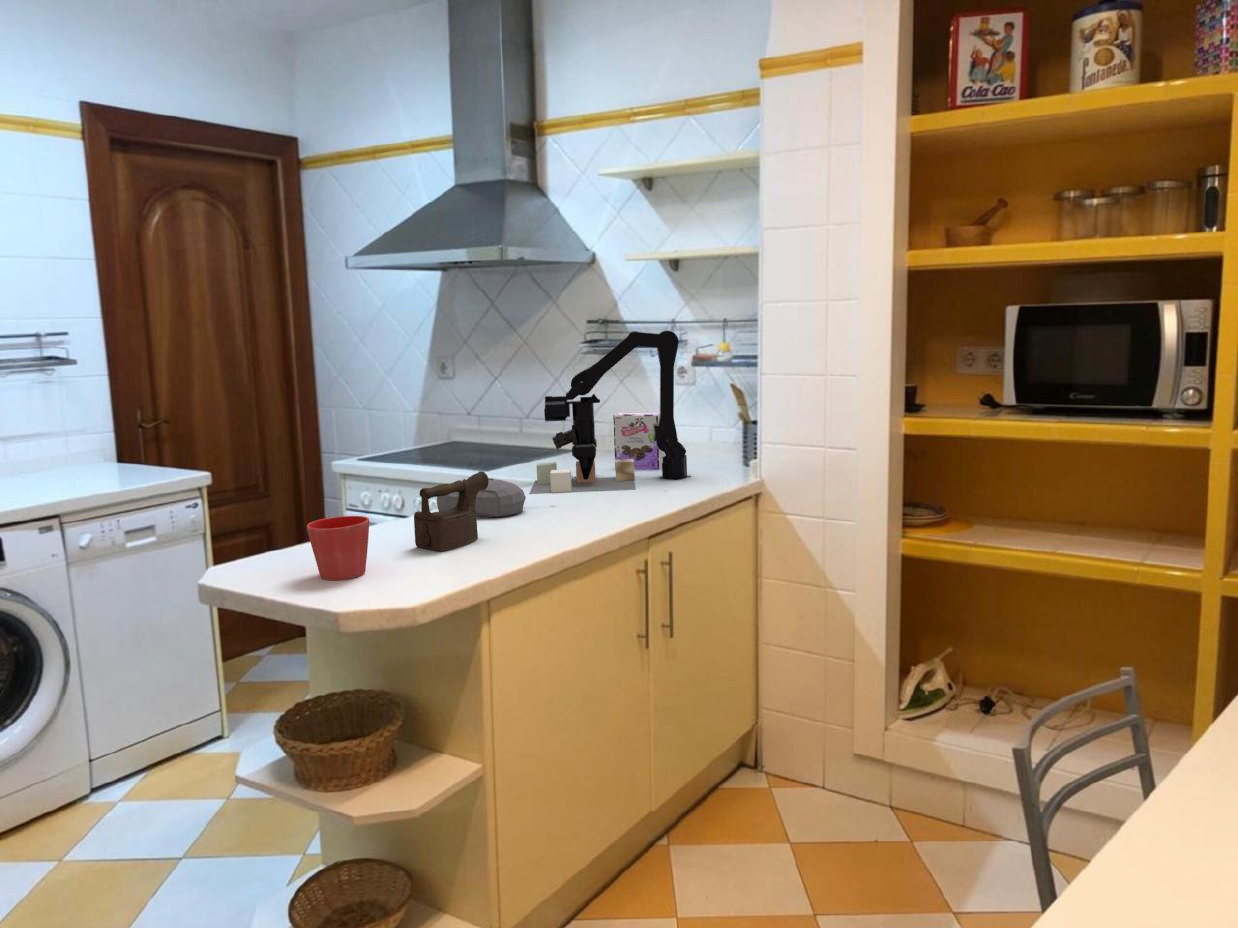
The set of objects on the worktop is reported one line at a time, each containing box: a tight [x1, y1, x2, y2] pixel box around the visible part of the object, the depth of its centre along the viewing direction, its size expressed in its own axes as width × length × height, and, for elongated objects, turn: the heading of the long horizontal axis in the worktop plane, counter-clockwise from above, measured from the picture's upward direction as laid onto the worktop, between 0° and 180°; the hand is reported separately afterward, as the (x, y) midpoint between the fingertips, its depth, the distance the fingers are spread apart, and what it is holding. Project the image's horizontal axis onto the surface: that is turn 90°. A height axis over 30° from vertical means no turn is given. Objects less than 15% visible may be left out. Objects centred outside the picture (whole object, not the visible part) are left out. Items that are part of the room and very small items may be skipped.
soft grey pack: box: [436, 477, 527, 518], centre depth 222 cm, size 15×8×20 cm
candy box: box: [613, 412, 666, 471], centre depth 277 cm, size 14×6×16 cm, turn 68°
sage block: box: [536, 461, 558, 484], centre depth 258 cm, size 5×5×5 cm
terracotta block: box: [575, 460, 597, 483], centre depth 258 cm, size 5×5×5 cm
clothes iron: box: [413, 470, 489, 553], centre depth 191 cm, size 8×16×13 cm, turn 138°
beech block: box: [614, 459, 636, 481], centre depth 259 cm, size 5×5×5 cm
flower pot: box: [306, 515, 370, 581], centre depth 170 cm, size 11×11×10 cm
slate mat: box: [528, 476, 637, 495], centre depth 252 cm, size 27×21×1 cm
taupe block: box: [550, 468, 572, 494], centre depth 245 cm, size 5×5×5 cm
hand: (586, 477), depth 259 cm, fingers open, 5 cm apart
